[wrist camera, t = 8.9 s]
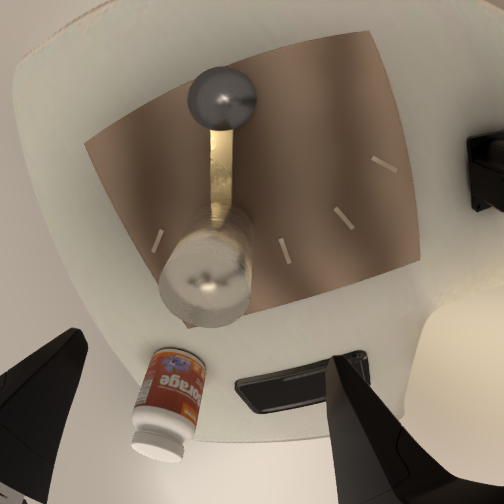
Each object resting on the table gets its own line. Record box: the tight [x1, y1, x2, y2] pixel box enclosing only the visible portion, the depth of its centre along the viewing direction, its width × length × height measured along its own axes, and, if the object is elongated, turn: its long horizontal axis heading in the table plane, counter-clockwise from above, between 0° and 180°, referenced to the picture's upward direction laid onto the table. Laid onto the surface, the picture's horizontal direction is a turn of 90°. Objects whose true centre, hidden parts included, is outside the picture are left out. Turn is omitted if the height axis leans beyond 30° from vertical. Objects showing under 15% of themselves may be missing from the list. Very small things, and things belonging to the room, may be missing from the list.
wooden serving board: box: [84, 31, 420, 329], centre depth 18 cm, size 20×17×2 cm
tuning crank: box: [159, 67, 257, 328], centre depth 13 cm, size 13×4×7 cm, turn 178°
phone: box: [235, 350, 371, 414], centre depth 29 cm, size 8×1×15 cm
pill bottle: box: [131, 349, 206, 463], centre depth 23 cm, size 6×6×11 cm
